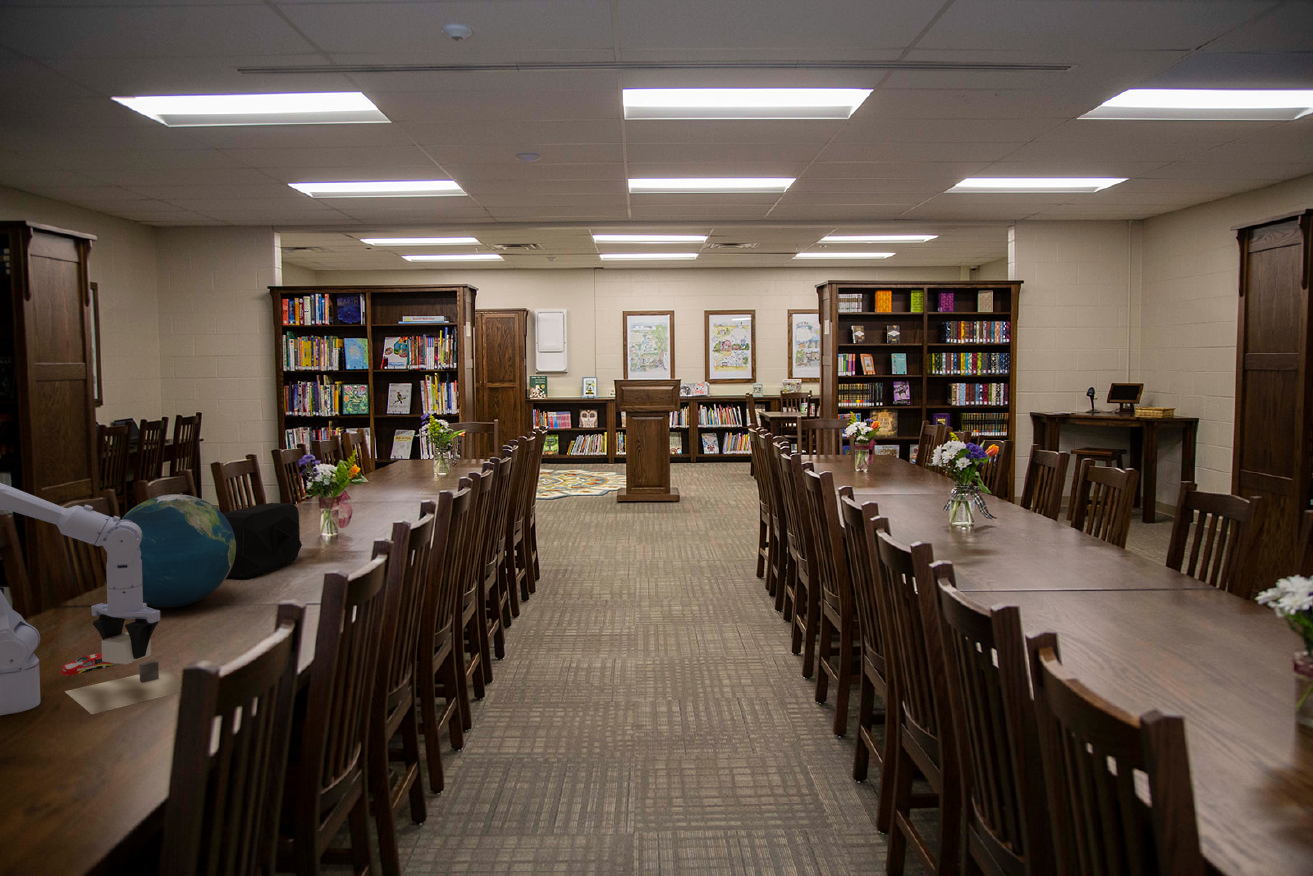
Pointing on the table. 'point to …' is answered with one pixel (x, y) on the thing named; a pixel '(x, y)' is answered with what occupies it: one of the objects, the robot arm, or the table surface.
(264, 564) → the black hard case
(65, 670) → the race car
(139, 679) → the switch board
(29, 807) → the table surface
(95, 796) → the table surface
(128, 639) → the toy microwave
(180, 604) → the globe
